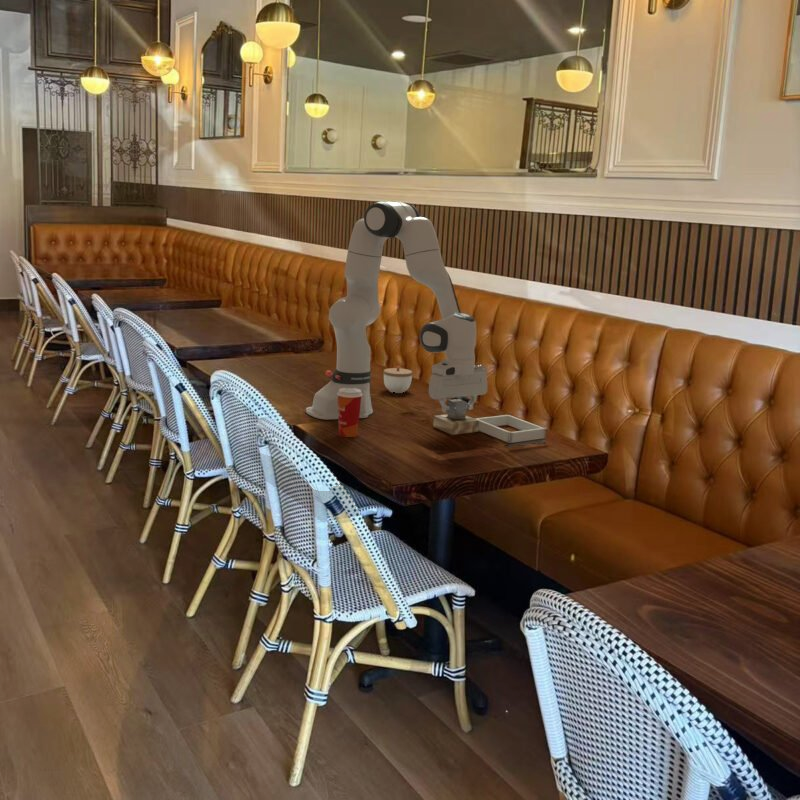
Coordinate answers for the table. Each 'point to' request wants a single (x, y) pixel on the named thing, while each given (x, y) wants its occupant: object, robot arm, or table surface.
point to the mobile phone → (461, 398)
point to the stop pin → (456, 409)
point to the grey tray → (527, 433)
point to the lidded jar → (397, 379)
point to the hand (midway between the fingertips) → (457, 410)
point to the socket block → (456, 425)
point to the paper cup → (349, 411)
